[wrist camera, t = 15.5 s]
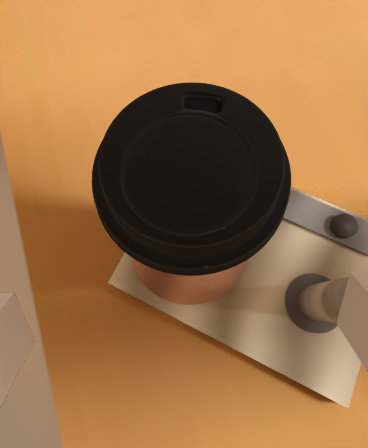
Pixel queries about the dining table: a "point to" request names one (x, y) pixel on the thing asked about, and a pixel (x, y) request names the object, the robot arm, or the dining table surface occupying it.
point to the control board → (275, 296)
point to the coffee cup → (191, 179)
